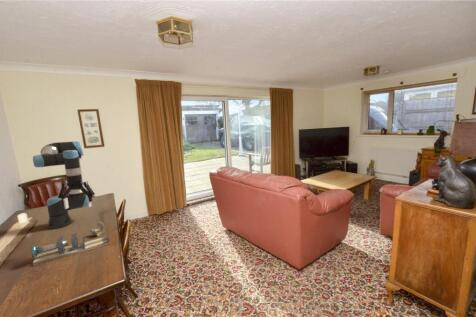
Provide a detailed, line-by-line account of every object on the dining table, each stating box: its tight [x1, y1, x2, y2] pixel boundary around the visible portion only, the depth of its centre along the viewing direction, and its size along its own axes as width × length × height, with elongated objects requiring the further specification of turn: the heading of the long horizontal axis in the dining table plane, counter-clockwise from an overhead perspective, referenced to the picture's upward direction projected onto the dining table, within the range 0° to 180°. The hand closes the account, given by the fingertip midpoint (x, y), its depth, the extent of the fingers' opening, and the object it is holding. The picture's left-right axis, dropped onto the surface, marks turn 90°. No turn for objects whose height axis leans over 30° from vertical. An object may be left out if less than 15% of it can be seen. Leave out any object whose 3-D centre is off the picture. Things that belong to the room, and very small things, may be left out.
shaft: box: [30, 239, 69, 259], centre depth 127 cm, size 16×6×6 cm, turn 124°
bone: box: [89, 221, 105, 237], centre depth 153 cm, size 9×6×10 cm
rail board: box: [32, 235, 110, 266], centre depth 134 cm, size 10×36×2 cm, turn 124°
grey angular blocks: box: [56, 231, 110, 255], centre depth 136 cm, size 10×25×9 cm, turn 124°
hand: (78, 207), depth 140 cm, fingers open, 13 cm apart
